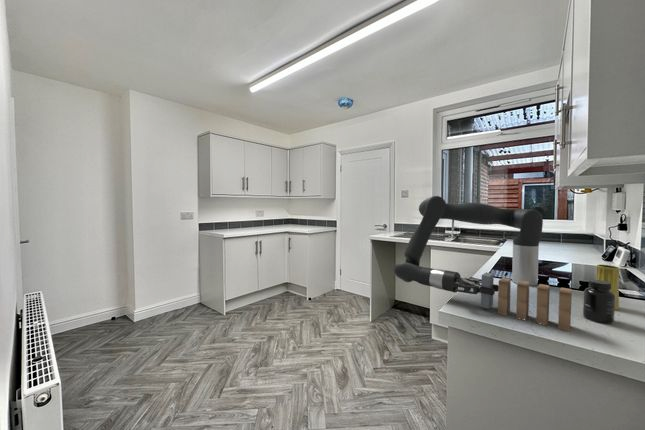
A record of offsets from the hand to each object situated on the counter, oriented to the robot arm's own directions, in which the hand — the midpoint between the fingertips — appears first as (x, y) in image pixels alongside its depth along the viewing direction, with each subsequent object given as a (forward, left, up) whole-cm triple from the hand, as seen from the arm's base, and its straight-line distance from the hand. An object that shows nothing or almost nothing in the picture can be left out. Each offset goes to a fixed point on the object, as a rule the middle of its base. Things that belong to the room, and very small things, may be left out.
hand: (496, 290), depth 91 cm
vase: (-30, +26, -7) cm, 41 cm away
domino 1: (0, -3, -6) cm, 7 cm away
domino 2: (0, +2, -7) cm, 7 cm away
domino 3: (0, +7, -7) cm, 10 cm away
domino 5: (0, +17, -7) cm, 19 cm away
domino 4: (0, +12, -7) cm, 14 cm away
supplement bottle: (-14, +24, -7) cm, 29 cm away
